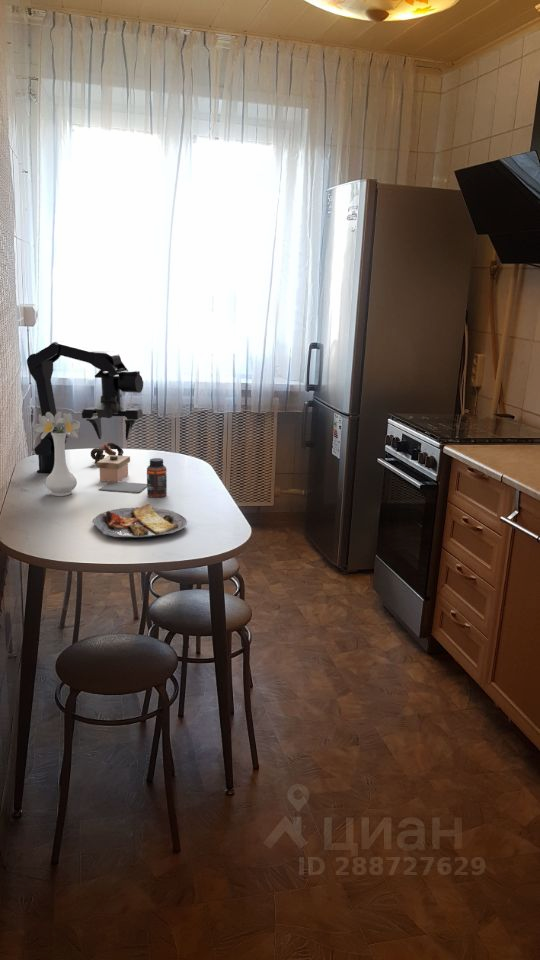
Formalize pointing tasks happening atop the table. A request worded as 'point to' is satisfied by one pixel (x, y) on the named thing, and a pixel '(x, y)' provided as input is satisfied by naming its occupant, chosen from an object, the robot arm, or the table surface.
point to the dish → (113, 473)
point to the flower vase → (59, 451)
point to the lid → (113, 462)
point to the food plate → (139, 521)
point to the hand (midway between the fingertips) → (113, 439)
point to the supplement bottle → (156, 478)
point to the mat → (124, 487)
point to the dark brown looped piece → (107, 450)
